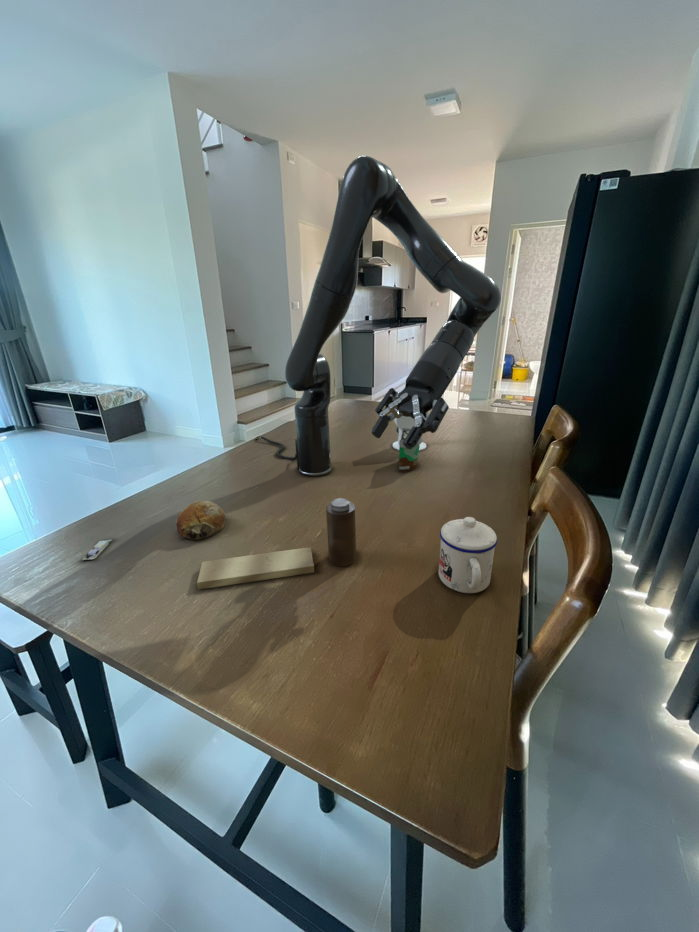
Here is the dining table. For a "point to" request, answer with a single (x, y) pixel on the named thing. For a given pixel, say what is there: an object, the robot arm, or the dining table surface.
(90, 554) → the granola bar
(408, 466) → the food container
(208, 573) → the serving board
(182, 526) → the bread roll
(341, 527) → the pepper mill
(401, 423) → the panda figurine
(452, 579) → the teacup with lid
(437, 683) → the dining table surface
